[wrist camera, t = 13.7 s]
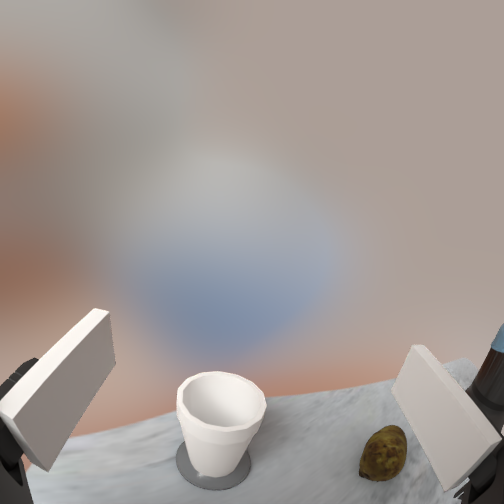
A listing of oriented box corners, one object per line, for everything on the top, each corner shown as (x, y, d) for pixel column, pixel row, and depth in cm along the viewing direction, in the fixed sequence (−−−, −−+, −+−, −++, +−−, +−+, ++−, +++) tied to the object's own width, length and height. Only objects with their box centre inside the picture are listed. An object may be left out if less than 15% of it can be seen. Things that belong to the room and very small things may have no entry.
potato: (415, 459, 29) (440, 427, 27) (366, 502, 22) (395, 474, 21) (383, 434, 36) (403, 402, 34) (331, 468, 29) (351, 437, 27)
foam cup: (216, 426, 35) (224, 362, 32) (262, 462, 30) (283, 402, 27) (164, 452, 28) (159, 389, 25) (210, 498, 23) (217, 446, 20)
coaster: (257, 448, 33) (258, 445, 33) (237, 499, 23) (238, 497, 23) (193, 427, 35) (193, 424, 35) (163, 472, 26) (163, 470, 25)
